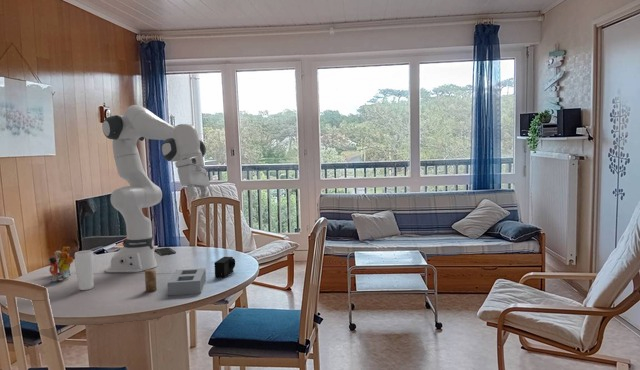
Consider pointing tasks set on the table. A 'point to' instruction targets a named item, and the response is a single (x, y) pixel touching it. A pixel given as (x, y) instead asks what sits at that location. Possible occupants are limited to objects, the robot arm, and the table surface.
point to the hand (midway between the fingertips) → (198, 197)
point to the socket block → (187, 282)
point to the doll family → (60, 265)
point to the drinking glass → (85, 269)
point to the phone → (165, 251)
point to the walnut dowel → (150, 280)
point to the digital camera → (224, 267)
